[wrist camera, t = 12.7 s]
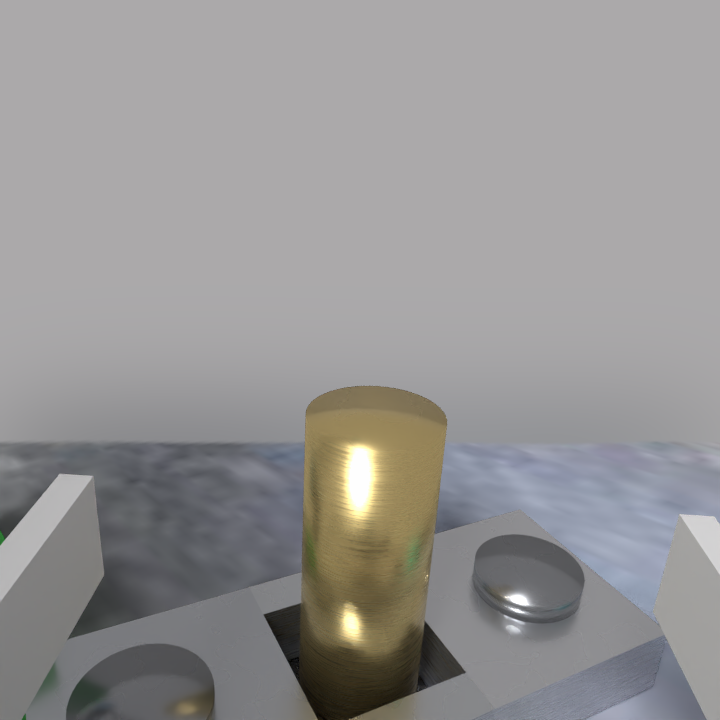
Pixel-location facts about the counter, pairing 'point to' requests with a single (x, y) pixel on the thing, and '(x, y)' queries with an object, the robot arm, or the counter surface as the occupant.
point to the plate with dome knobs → (438, 653)
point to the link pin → (366, 545)
